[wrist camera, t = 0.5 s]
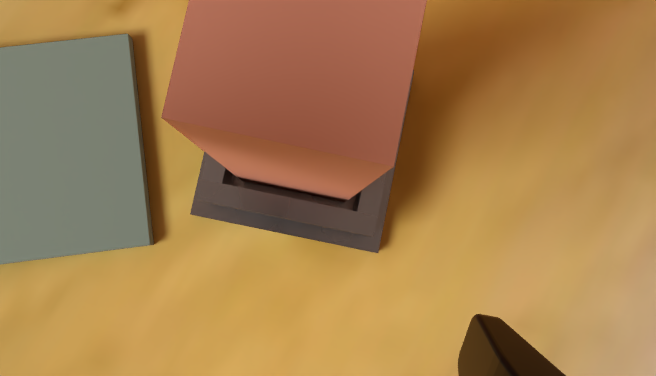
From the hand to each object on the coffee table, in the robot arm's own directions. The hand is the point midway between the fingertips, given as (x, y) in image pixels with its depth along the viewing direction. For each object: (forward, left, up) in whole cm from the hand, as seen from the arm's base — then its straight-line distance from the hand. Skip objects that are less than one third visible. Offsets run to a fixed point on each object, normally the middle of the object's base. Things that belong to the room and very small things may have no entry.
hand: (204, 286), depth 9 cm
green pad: (-5, +10, -15) cm, 18 cm away
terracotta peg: (+4, +3, -14) cm, 15 cm away
